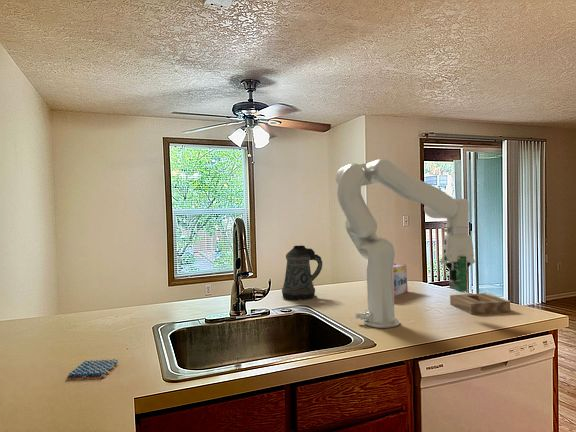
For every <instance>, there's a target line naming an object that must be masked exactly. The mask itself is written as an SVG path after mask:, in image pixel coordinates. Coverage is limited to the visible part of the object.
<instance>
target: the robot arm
mask: <svg viewBox="0 0 576 432" xmlns="http://www.w3.org/2000/svg"><path fill="white" fill-rule="evenodd" d="M335 181H336V184H337V192H336V193H337V200H338V203H339V206H340V208H341V210H342V212H343V214H344V216H345V218H346V219H345V224H344V225H345V226H344V227H345V230H346V232H347V234H348V236H349V238H350V239H351V241H352V242H353V245H354V246H355V248H356V250H357V251H358V253H359V254H360V256H361V257H362V258H363V259H365V260H367V267H366V290H367V293H366V294H367V295H366V296H367V309H365V311H363V312H357V313H355V314H354V317H355V319H356V320H357V319H360V320H363V323H364V324H365V325H366V326H367V327H368V326H369V327H372V328H380V329H389V328H394V327H397V326H399V325H400V319H398V318H397V317H396V316H395V296H394V283H393V265H394V264H395V263H394V262H395V258H396V257H395V256H396V255H395V254H396V251H395V248H394V245H393V243H392V241H390V240H389V239H387V238H385V237H382V236H378V235H377V233H376V232H377V230H378V223H377V220H376V218H375V217H374V215H373V214H372V212H371V210H370V208H369V207H368V205H367V203H366V202H365V200H364V199H365V198H364V197H363V195H362V187H363V186H369V185H374V184H378V183H380V184H381V185H382V186H384V187H385V188H387V189H388V190H389V191H392V192H393V193H395V195H397V196H399V197H400V198H403V199H405V200H409V201H413V202H416V203H420V204H422V205H424V207H423V211H424V214H426V215H427V216H428V217H429V218H433V219H446V228H443V232H444V233H446V234H445V236H444V240H443V247H442V257H441V260H440V261H439V262H440V264H442V265H444V266H445V267H446V268H447V269H448V271H449V275H448V277H450V280H452V281H456V270H455V262H458V256H466V271H467V270H468V268H469V267H470V266H471V265H474V264H475V262H476V261H475V257H474V256H475V255H474V245H473V238H472V235H470V234H469V233H470V231H469V230H470V229H469V228H470V227H469V226H470V225H469V223H470V222H469V220H470V219H469V218H470V217H469V214H470V211H469V208H470V206H469V205H470V203H469V200H468V199H467V198H453V197H451V196H450V195H449V194H447V193H446V192H445V191H443V190H441V189H440V188H438V187H436V186H433V185H432V184H430V183H427V182H425V181H423V180H420V179H418V178H416V177H414V176H413V175H411V174H410V173H408V171H406V170H404V169H402V168H401V167H400V166H398V165H397V164H395V163H393V162H392V161H390V160H389V159H386V158H379V159H376V160H372V161H369V162H366V163H361V164H360V163H355V162H354V163H349V164H346V165H345V166H342V167H340V168H339V169H338V170H337V172H336V174H335Z"/></svg>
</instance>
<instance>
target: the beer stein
mask: <svg viewBox="0 0 576 432" xmlns="http://www.w3.org/2000/svg"><path fill="white" fill-rule="evenodd" d="M285 259H286V269H285V275H284V282H283V285H282V287H281V294H282V298H283V299H284V300H288V301H307V300H310V299H314V298H315V293H316V288H315V287H314V286H315V285H314V282H313V281H314V280H315V279H316V278H317V277H318V276H319V274H321V271H322V269H323V261H322V257H321V256H320V255H318V254H316V253H315V251H314V250H313V248H307V247H306V246H305V245H294V246H293V248H291V250H289V251H288V252H287V253H286V254H285ZM310 261H316V263H317V266H316V269H315V271H314V272H313V273H311V266H310V265H311V264H310V263H311V262H310Z"/></svg>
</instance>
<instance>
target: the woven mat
mask: <svg viewBox="0 0 576 432" xmlns="http://www.w3.org/2000/svg"><path fill="white" fill-rule="evenodd" d="M118 365H119V360H118V359H116V358H115V359H106V360H104V359H102V360H98V359H97V360H93V359H92V360H84V361H83V362H82V363H80V365H78V366H77V367H76V368H74V370H72V371H71V372H69V373H68V375H67V377H66V380H69V381H70V380H72V381H73V380H85V379H86V380H91V379H92V380H93V379H95V380H96V379H105V378H106V377H107V376H108V375H110V374H111V372H113V371H114V369H115V368H116V367H117V366H118Z"/></svg>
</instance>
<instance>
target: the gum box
mask: <svg viewBox="0 0 576 432" xmlns="http://www.w3.org/2000/svg"><path fill="white" fill-rule="evenodd" d="M407 270H408V269H407V264H404V265H403V264H396V263H394V265H393V283H394V297H396V296H400V295H401V294H405V293H406V292H408V291H409V289H408V272H407Z"/></svg>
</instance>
